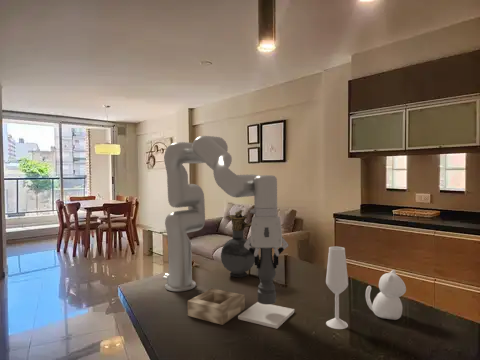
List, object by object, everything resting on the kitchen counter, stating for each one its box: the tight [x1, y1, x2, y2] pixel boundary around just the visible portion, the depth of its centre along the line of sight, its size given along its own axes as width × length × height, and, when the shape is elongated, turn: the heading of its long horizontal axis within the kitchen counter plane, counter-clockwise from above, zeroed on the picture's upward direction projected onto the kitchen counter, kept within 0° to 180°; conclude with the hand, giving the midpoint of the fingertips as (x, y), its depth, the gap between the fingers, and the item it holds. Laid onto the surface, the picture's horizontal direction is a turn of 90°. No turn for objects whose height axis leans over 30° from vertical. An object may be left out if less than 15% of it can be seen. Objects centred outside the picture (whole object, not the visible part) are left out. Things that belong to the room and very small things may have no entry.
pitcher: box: [220, 209, 255, 279], centre depth 159 cm, size 11×19×30 cm, turn 63°
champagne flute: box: [325, 245, 349, 330], centre depth 109 cm, size 7×7×24 cm
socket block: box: [187, 288, 246, 326], centre depth 119 cm, size 14×14×5 cm
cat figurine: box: [364, 269, 407, 321], centre depth 115 cm, size 9×12×15 cm
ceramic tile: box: [237, 301, 295, 329], centre depth 116 cm, size 14×14×1 cm
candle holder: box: [257, 227, 277, 305], centre depth 115 cm, size 6×6×25 cm
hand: (266, 266), depth 116 cm, fingers closed on candle holder, 5 cm apart
